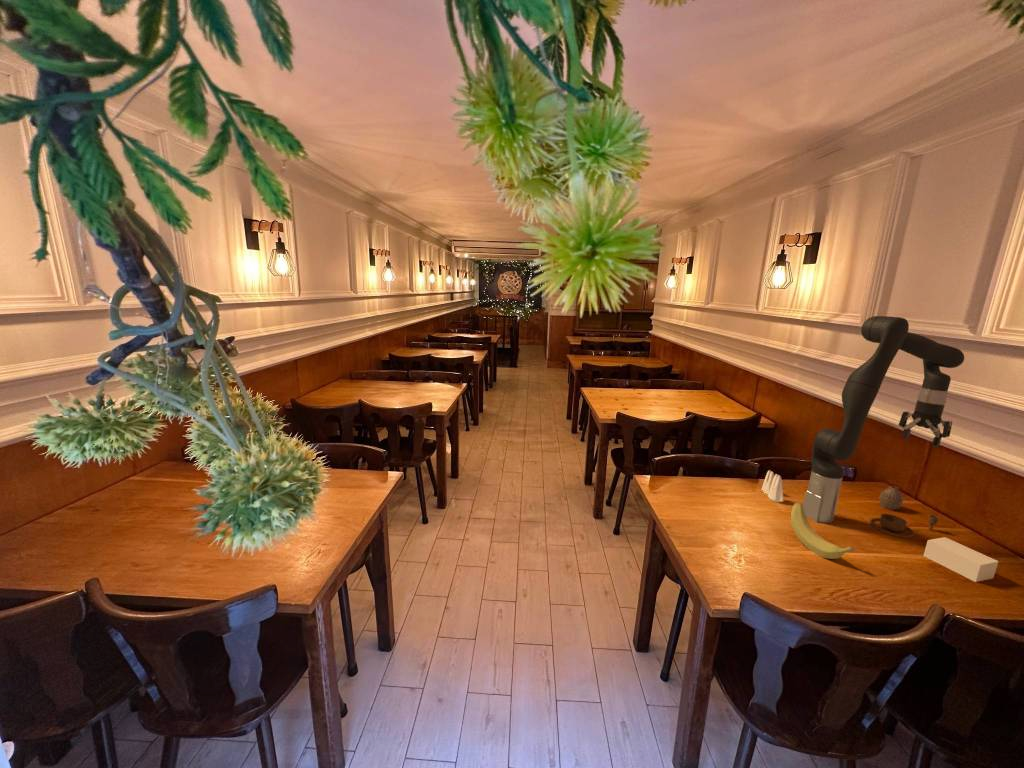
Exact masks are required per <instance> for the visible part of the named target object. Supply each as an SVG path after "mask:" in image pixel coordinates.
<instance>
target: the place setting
mask: <svg viewBox="0 0 1024 768" xmlns="http://www.w3.org/2000/svg"><path fill="white" fill-rule="evenodd" d="M875 521H876V522H878V521H879V524H880V525H881V526H882V527H883V528H885V529H882V528H880V527H878V526H877V525H875V524H874V523H873V522H875ZM938 521H939V516H936V515H933V514H929V515H928V519H927V522H928V523H929V526H928V528H929V529H928V531H932V530H933V529H934V525H937V524H938ZM869 523H870V525H871V526H872V527H873V528H874V529H876V530H878V531H879V532H882V533H885V534H887V535H890V536H893V537H897V538H905V539H909V538H913V537H914V535H915V532H914V530H913V529H911V528H910V527H908V526H907V520H906V519H904V518H902V517H901V516H897V515H894V514H891V513H882V514H881V515H880V517H872V518H871V519H870V521H869ZM887 530H888V531H887ZM904 530H906V531H908V532H909V533H910V532H911V533H910V534H909V535H906V534H905V535H903V534H899V533H898V532H903V531H904ZM894 532H897V533H894ZM910 543H913V541H911V540H910Z"/></svg>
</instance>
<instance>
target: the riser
mask: <svg viewBox="0 0 1024 768" xmlns="http://www.w3.org/2000/svg"><path fill="white" fill-rule="evenodd" d="M923 557H924V558H927V559H929V560H931V561H933V562H935V563H937V564H939V565H941V566H943V567H945V568H947V569H949V570H951V571H953V572H955V573H956V574H958V575H961V576H963V577H964V578H967V579H968V580H971V581H972V582H974V583H977V582H982V581H987V580H992V579H994V578H995V573H996V571H997V568H998V564H999V561H998V560H996V559H995V558H992V557H990V556H987V555H985V554H984V553H981V552H979V551H977V550H974V549H972V548H970V547H968V546H966V545H963V544H960V543H958V542H957V541H955V540H953V539H950V538H948V537H946V536H945V537H939V538H933V539H928V540H927V542H926V545H925V550H924V552H923Z"/></svg>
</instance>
